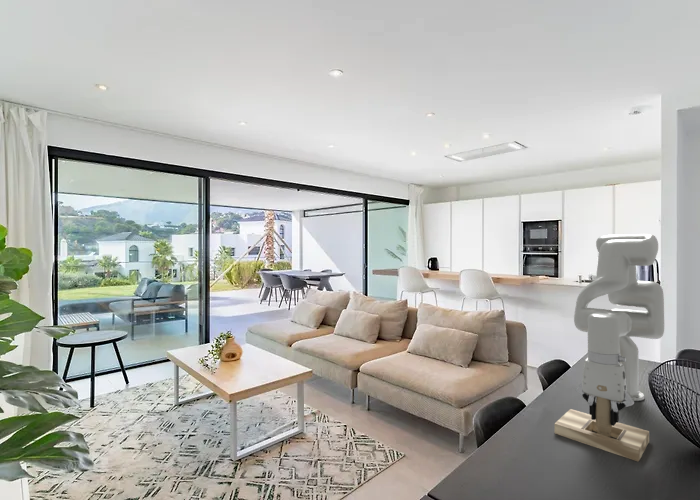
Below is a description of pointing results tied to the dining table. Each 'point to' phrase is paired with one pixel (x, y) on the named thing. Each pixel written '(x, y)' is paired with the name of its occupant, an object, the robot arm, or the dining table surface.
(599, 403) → the handle
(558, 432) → the board
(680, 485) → the dining table surface
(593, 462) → the dining table surface
